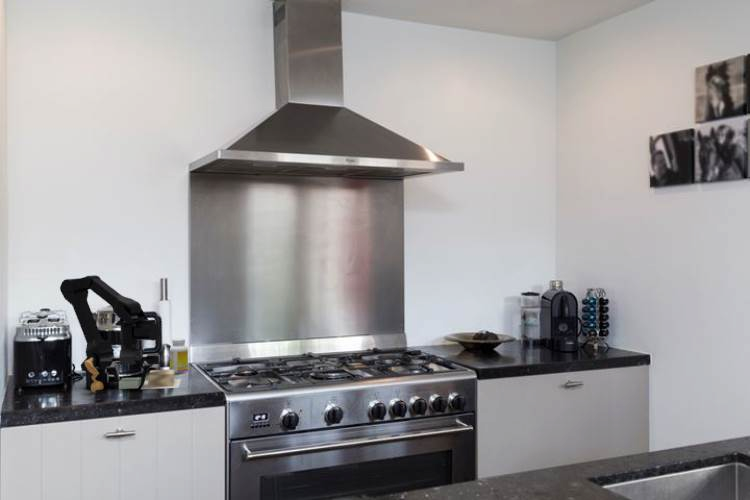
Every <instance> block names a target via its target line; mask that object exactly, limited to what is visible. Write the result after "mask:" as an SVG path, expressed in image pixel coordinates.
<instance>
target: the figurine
mask: <svg viewBox="0 0 750 500" xmlns="http://www.w3.org/2000/svg"><path fill="white" fill-rule="evenodd" d="M92 361H93V358H90V359H89V360H86V361H85V366H86V367H87V370H89V371H90V373H92V374H93V375H92V380H93V381H94V383H92V385H91V389H90V390H91V392H92V393H96V392H97V391H100V390H103V389H104V387H105V384H103V383H102V382H100V381H97V380H95V378H96V377H97V375H98V374H99V373H98V371H97V370H96V369H95V368H94V366H93V363H92ZM93 369H94V370H95V371H94V370H93ZM96 372H97V373H96ZM93 378H94V379H93Z"/></svg>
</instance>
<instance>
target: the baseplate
mask: <svg viewBox="0 0 750 500" xmlns="http://www.w3.org/2000/svg"><path fill="white" fill-rule="evenodd" d="M181 382H182V379H181V378H177V379H176V378H175V382H174V384H173V386H160V387H148V380H145V382H144V385H141V388H140V390H152V389H153V390H157V389H178V388H179V387H180V384H181Z"/></svg>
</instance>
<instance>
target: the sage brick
mask: <svg viewBox="0 0 750 500" xmlns="http://www.w3.org/2000/svg"><path fill="white" fill-rule="evenodd" d="M140 386H142V377H122V378H120V381H119V387H118V389H119V390H124V389H125V390H127V389H139V387H140Z"/></svg>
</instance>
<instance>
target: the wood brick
mask: <svg viewBox="0 0 750 500" xmlns="http://www.w3.org/2000/svg"><path fill="white" fill-rule="evenodd" d="M175 374H176V373H175V370H170V369H159V370H157V369H156V370H154V369H153V370H150V371H148V373H147V381H148V387H160V386H173V384H174V382H175V379H176V377H175V376H176V375H175Z"/></svg>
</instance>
